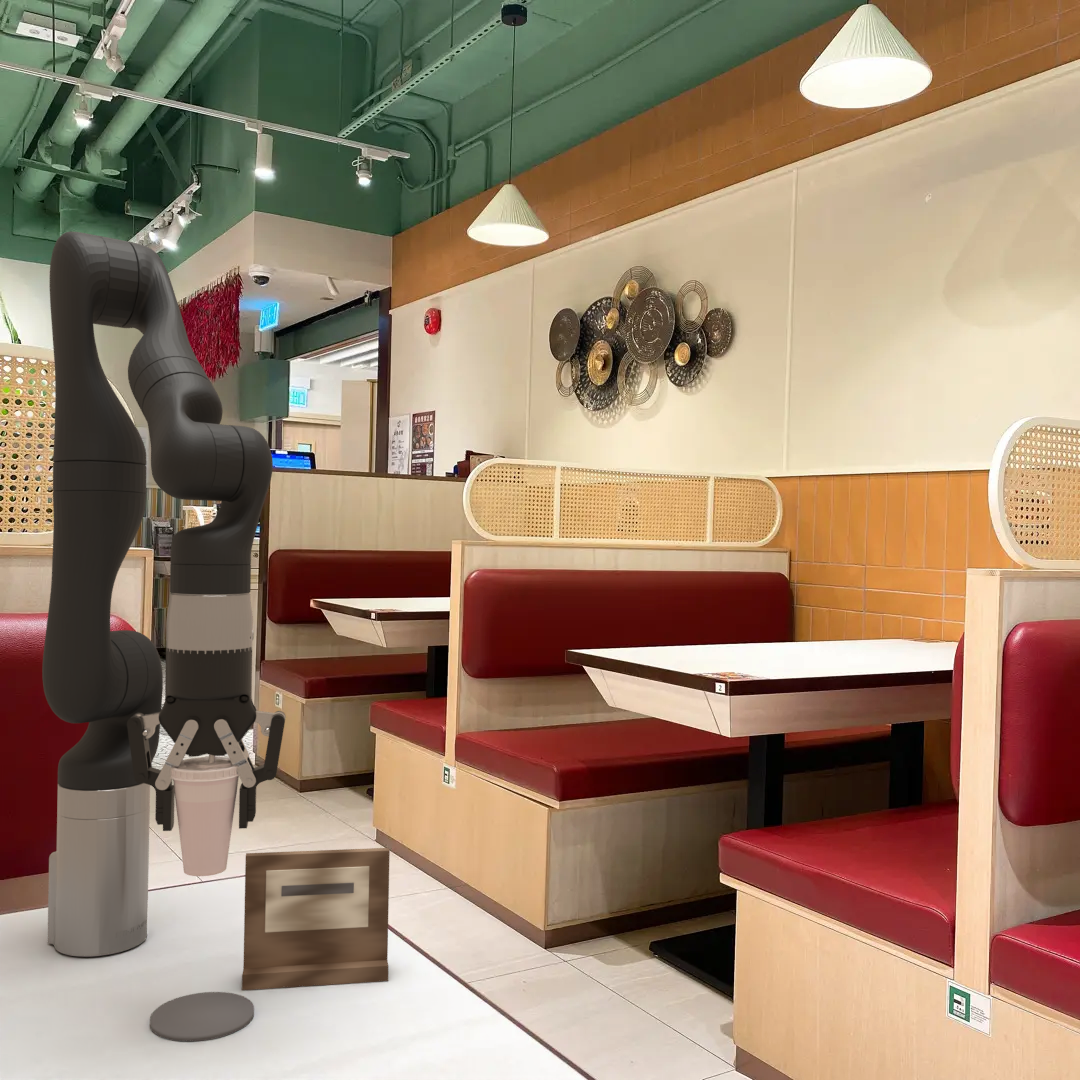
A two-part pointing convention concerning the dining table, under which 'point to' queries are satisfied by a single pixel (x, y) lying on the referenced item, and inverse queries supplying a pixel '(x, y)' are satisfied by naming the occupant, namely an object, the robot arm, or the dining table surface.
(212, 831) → the smoothie
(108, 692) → the robot arm
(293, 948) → the placard
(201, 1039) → the coaster
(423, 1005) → the dining table surface
